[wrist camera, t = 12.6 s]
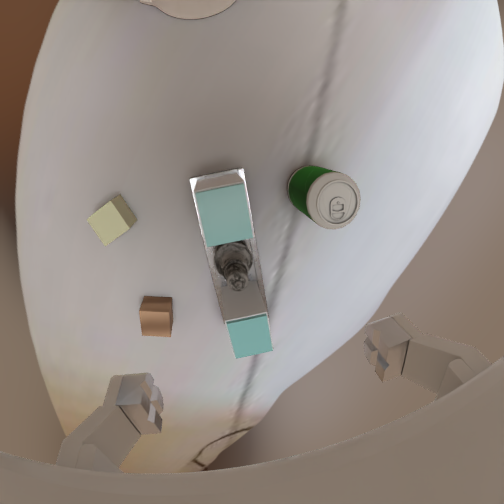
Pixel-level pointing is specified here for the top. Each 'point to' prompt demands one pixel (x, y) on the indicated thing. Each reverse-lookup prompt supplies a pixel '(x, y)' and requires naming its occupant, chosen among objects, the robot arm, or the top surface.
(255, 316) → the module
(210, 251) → the rail
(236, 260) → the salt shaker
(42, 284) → the top surface
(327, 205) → the soda can
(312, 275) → the top surface
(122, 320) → the top surface
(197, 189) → the block
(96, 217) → the block olive
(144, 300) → the block walnut
